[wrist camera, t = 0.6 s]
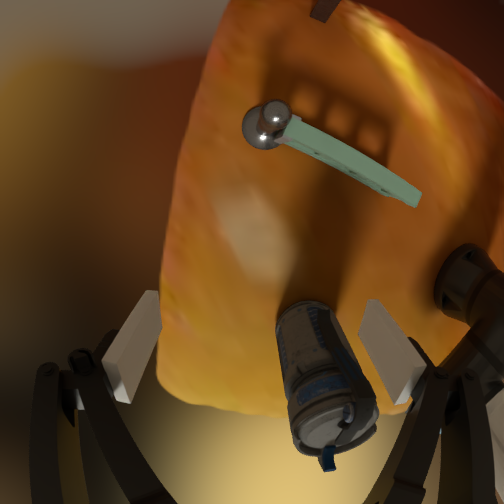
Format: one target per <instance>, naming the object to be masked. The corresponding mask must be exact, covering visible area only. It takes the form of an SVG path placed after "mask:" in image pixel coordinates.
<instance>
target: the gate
mask: <svg viewBox="0 0 504 504" xmlns="http://www.w3.org/2000/svg"><path fill="white" fill-rule="evenodd" d="M301 119H302V118H300V117H298V116H296V115H293V114H292V119H291V121H290V123H289V124H288V125H287V126H286V127H285V128H283V129H279V130H278V131H277V133H276V135H275V137H274V140H273V141H274V142H277V143H279V144H282V143H284V144H287V145H289V146H291V147H293V148H295V149H297V150H300V151H302V152H304V153H306V154H308V155H310V156H312V157H314V158H316V159H318V160H320V161H322V162H324V163H326V164H328V165H330V166H332V167H334V168H336V169H338V170H339V171H341V172H343V173H345V174H347V175H349V176H351V177H352V178H354V179H356V180H358V181H360V182H361V183H363V184H365V185H367V186H368V187H370V188H372V189H373V190H375V191H377V192H379V193H380V194H382V195H384V196H387V197H389V196H391V197H394V198H396V199H399V200H401V201H403V202H404V203H406V204H407V205H410V206H412V207H415V208H416V206H417V204H418V202H419V200H420V197H421V195H422V192H420V191H419V190H417V189H416V188H415V187H413V186H412V185H410V184H409V183H407V182H406V181H405V180H403V179H402V178H400V177H399V176H397V175H396V174H394V173H393V172H391V171H390V170H388V169H386V168H385V167H383V166H382V165H380V164H379V163H377V162H375V161H374V160H372V159H370V158H369V157H367V156H365V155H364V154H362V153H360V152H359V151H357V150H355V149H353V148H352V147H350V146H348V145H346V144H345V143H343V142H341V141H339V140H337V139H335V138H334V137H332V136H330V135H328V134H326V133H324V132H322V131H320V130H318V129H316V128H314V127H312V126H310V125H308V124H306V123H304V122H302V121H301Z"/></svg>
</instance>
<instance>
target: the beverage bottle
mask: <svg viewBox="0 0 504 504" xmlns="http://www.w3.org/2000/svg"><path fill="white" fill-rule="evenodd" d="M275 333H276V339H277V345H278V351H279V358H280V364H281V371H282V377H283V383H284V390H285V396H286V398H287V400H288V406H287V409H288V415H289V422H290V429H291V433H292V436H293V437H292V438H293V444H294V445H295V447H296V448H297V450H298V451H299V452H300V453H302V454H304V455H308V456H315V457H318V461H319V464H320V465H321V467H322V469H323V471H324V472H329V471H334V470H336V466H335V463H334V455H335V454H339V453H342V452H346V451H348V450H351V449H353V448H355V447H357V446H359V445H361V444H362V443H364V442H365V441H367V440H368V439H369V438H370V437H372V435H374V433H375V432H376V429H377V426H376V424H375V422H376V421H377V419H378V416H379V409H378V407H377V402H376V395H375V393H374V391H373V389H372V386H371V384H370V382H369V381H368V380H367V379H366V377H365V376H364V374H363V373H362V369H361V367H360V365H359V363H358V361H357V359H356V357H355V354H354V352H353V350H352V348H351V346H350V344H349V342H348V340H347V338H346V336H345V334H344V332H343V330H342V328H341V326H340V324H339V322H338V320H337V318H336V316H335V314H334V312H333V310H332V309H331V308H330V307H329V306H327V305H326V304H323V303H321V302H317V301H302V302H298V303H295V304H293V305H292V306H291V307H289V308H287V309H286V310H285V311H284V312H283V313H282V315H281V316H280V317H279V319H278V321H277V323H276V328H275Z"/></svg>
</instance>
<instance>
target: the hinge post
mask: <svg viewBox="0 0 504 504" xmlns="http://www.w3.org/2000/svg"><path fill="white" fill-rule="evenodd" d="M291 119H292V110H291V108H290V106H289V105H288V104H287V103H286V102H285V101H283V100H280V99H271V100H268V101H266V102H265V103H264V104H263V105H262V106H260V107H256V108H254V109H252V110H251V111H250V112H248V113H247V115H246V116H245V118H244V120H243V123H242V132H243V135H244V137H245V139H246V141H247V142H248V143H249V144H250V145H252V146H253V147H255V148H258V149H262V150H268V149H273V148H275V147H277V146H279V145H280V144H279V143H277V142H274V141H273V140H274V137H275V135H276V133H277V131H278V130H279V129H283V128H285V127H286V126H287V125H288V124H289V123H290V121H291Z"/></svg>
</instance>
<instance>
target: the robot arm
mask: <svg viewBox="0 0 504 504" xmlns="http://www.w3.org/2000/svg"><path fill="white" fill-rule="evenodd" d="M434 299H435V303H436V305H437V307H438V308H439V309H440V310H441V311H442V312H443V313H444V314H445V315H447V316H448V317H451V318H454V319H457V320H459V321H462V322H465V323H467V324H468V325H469V326H470V327H471V328H470V330H469V331H468V332H467V333H466V335H465V336H464V337H463V338H462V340H461V341H460V342H459V343H458V344H457V346H456V347H455V348H454V349H453V350H452V351H451V353H450V354H449V355H448V356H447V357H446V358H445V359H444V360H443V361H442V362H441V363H440V365H439V366H437V367H435V366H434V364H433V363H432V361H431V360H430V359H429V357H428V356H427V354H426V353H424V350H423V349H422V348H421V346H420V345H419V344H418V342H417V341H415V340H414V339H413V338H411V337H406V335H405V334H404V333H403V331H402V330H401V329H400V327H399V326H398V325H397V323H396V322H395V321H394V319H393V318H392V317H391V315H390V314H389V313H388V312H387V310H386V309H385V308H384V306H383V305H382V304H381V303H380V301H379V300H378V299H372V300H368V301H367V305H366V309H365V312H364V316H363V319H362V323H361V326H360V329H359V332H358V335H359V337H360V339H361V341H362V343H363V345H364V346H365V348H366V350H367V352H368V354H369V356H370V358H371V360H372V362H373V364H374V366H375V367H376V369H377V371H378V373H379V375H380V377H381V379H382V381H383V383H384V385H385V387H386V389H387V391H388V393H389V395H390V397H391V399H392V401H393V404H394V405H398V404H402V403H406V402H407V400H408V398H409V397H410V395H411V397H412V399H413V401H412V403H411V404H410V406H409V407H408V409H407V410H406V412H405V413H406V414H407V415H406V418H405V420H404V423H403V425H402V428H401V431H400V433H399V435H398V438H397V440H396V442H395V444H394V447H393V449H392V451H391V453H390V455H389V457H388V460H387V462H386V464H385V466H384V468H383V470H382V471H381V473H380V475H379V477H378V479H377V481H376V483H375V484H374V486H373V488H372V490H371V492H370V493H369V495H368V497H367V498H366V500H365V501H364V503H363V504H421V503H422V501H423V498H424V496H425V493H426V489H424V488H423V484H424V481H425V479H426V476H427V473H428V470H429V467H430V464H431V461H432V458H433V455H434V452H435V448H436V445H437V441H438V438H439V434H441V469H440V482H439V493H438V501H437V504H498V502H497V499H496V496H495V488H496V489H497V491H498V493H499V495H500V497H501V499H502V501H503V503H504V383H503V382H502V380H503V379H504V273H503V272H501V271H500V270H499V269H498V268H497V267H496V265H495V264H494V263H493V261H492V260H491V259H490V257H489V256H488V255H487V253H486V252H485V251H484V250H483V249H481V248H480V247H478V246H476V245H474V244H465V245H462V246H460V247H459V248H457V249H456V250H455V251H454V252H453V253H452V254H451V255H450V256H449V257H448V258H447V260H446V261H445V263H444V264H443V266H442V268H441V270H440V272H439V274H438V277H437V280H436V284H435V289H434ZM161 330H162V322H161V314H160V305H159V296H158V291H149V290H146V292H145V293H144V295H143V296H142V297H141V299H140V300H139V302H138V303H137V305H136V306H135V308H134V309H133V311H132V313H131V314H130V316H129V317H128V319H127V320H126V322H125V323H124V325H123V326H122V328H121V330H115V329H112V330H110V331H109V332H108V333H106V334H105V335H104V337H103V338H102V341H101V342H100V343H99V344H98V346H97V347H96V349H95V350H94V352H93V353H92V351H91V350H89V349H86V348H80V349H76V350H73V351H72V352H71V353H70V354H69V355H68V359H67V360H68V363H69V365H70V368H71V370H60V368H59V366H58V365H57V364H56V363H53V362H46V363H44V364H42V365H40V367H39V368H38V370H37V374H36V379H35V385H34V393H33V400H32V411H31V422H30V441H29V467H30V486H31V497H32V504H90V503H89V498H88V493H87V489H86V483H85V478H84V472H83V465H82V458H81V450H80V441H79V430H78V412H77V409H85V412H86V414H87V417H88V420H89V422H90V425H91V427H92V430H93V432H94V434H95V437H96V439H97V441H98V444H99V446H100V448H101V450H102V452H103V454H104V456H105V459H106V461H107V463H108V465H109V467H110V468H111V471H112V472H113V474H114V476H115V478H116V480H117V481H118V483H119V485H120V487H121V489H122V490H123V492H124V494H125V495H126V497H127V499H128V500H129V502H130V504H177V502H176V501H175V500H174V499H173V497H172V496H171V495H170V494H169V493H168V491H167V490H166V489H165V488H164V486H163V485H162V483H161V482H160V481H159V479H158V478H157V476H156V475H155V473H154V472H153V470H152V469H151V468H150V466H149V464H148V463H147V461H146V460H145V458H144V457H143V455H142V453H141V452H140V450H139V449H138V447H137V445H136V443H135V442H134V440H133V438H132V437H131V435H130V433H129V431H128V429H127V428H126V426H125V424H124V422H123V420H122V418H121V416H120V415H119V412H118V410H117V408H116V406H115V404H114V403H113V400H112V396H113V394H114V395H115V398H116V400H117V401H121V402H125V403H129V404H130V403H131V401H132V399H133V396H134V394H135V391H136V389H137V386H138V384H139V381H140V379H141V377H142V374H143V372H144V369H145V367H146V365H147V362H148V360H149V358H150V355H151V353H152V351H153V348H154V346H155V344H156V341H157V339H158V337H159V334H160V332H161Z"/></svg>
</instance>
